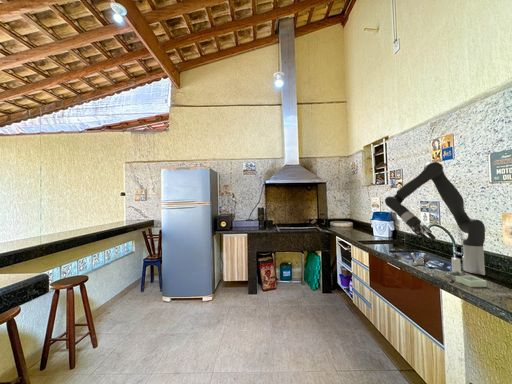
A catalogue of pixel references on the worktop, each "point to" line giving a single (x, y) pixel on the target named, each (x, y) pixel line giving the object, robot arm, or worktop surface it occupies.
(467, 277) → the bin
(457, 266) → the shiny silver cylinder
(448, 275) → the socket block
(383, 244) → the worktop surface
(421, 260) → the lighter
